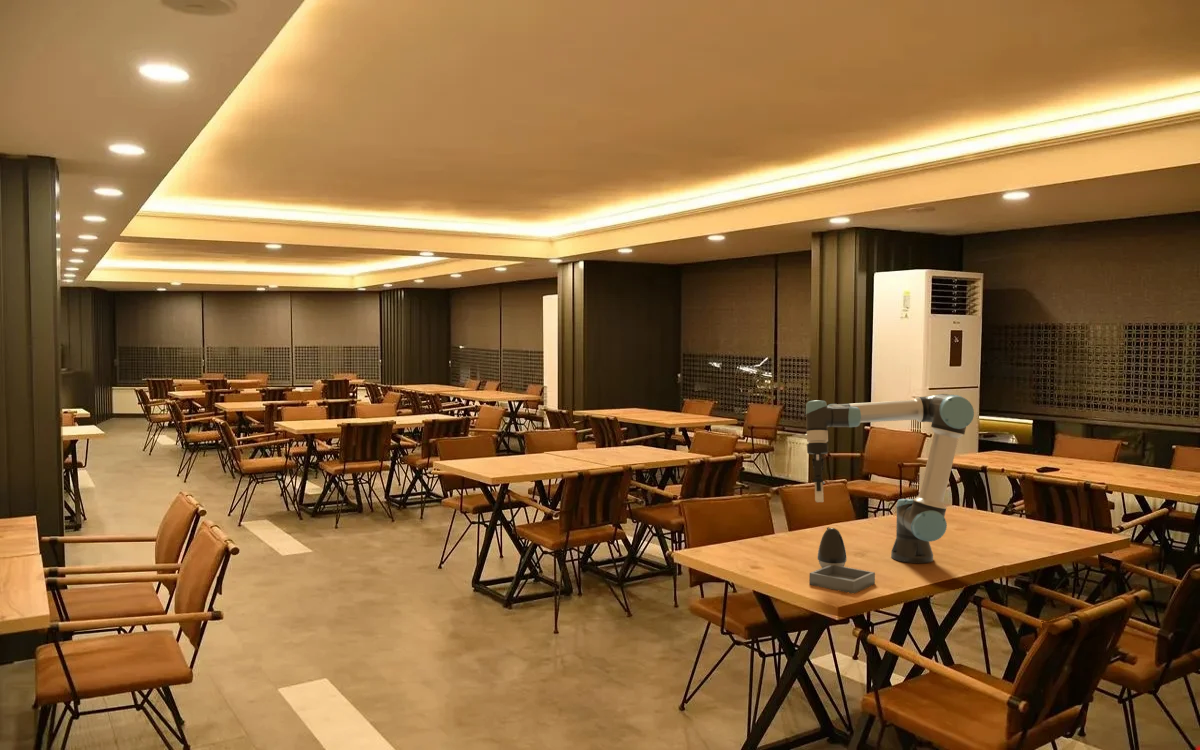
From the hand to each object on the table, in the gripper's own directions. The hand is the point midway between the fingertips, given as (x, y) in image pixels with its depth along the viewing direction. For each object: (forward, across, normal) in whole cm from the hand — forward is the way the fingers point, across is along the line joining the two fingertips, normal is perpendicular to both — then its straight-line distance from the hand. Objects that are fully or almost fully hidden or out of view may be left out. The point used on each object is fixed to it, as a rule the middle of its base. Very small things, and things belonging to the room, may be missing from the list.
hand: (819, 501), depth 307 cm
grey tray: (+28, +11, +7) cm, 31 cm away
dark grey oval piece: (+24, -8, +3) cm, 26 cm away
